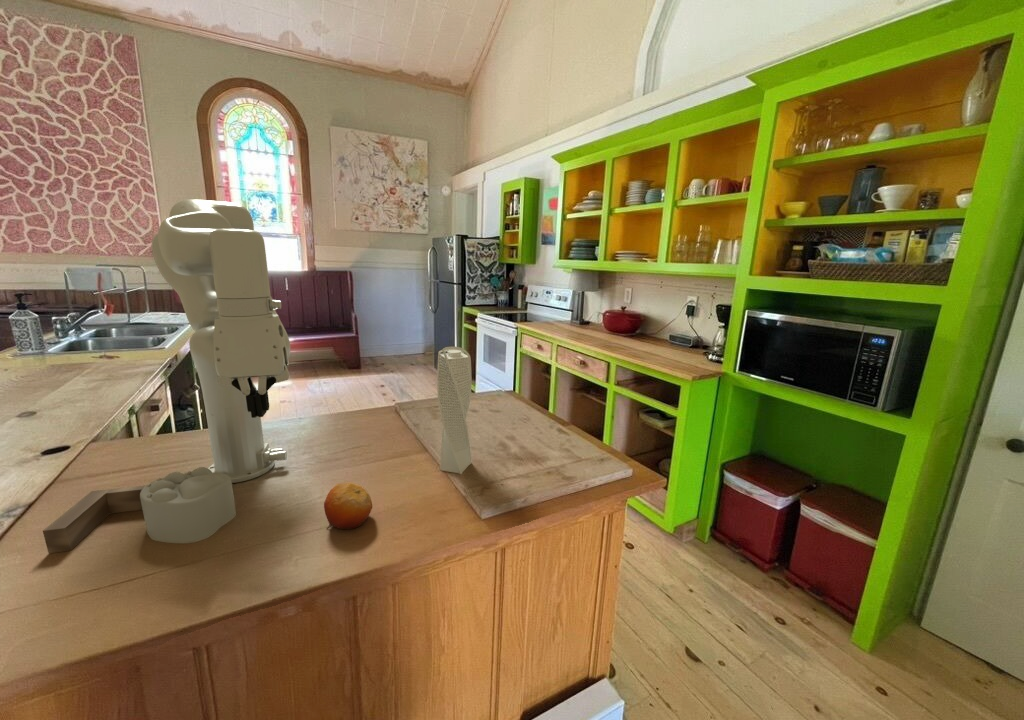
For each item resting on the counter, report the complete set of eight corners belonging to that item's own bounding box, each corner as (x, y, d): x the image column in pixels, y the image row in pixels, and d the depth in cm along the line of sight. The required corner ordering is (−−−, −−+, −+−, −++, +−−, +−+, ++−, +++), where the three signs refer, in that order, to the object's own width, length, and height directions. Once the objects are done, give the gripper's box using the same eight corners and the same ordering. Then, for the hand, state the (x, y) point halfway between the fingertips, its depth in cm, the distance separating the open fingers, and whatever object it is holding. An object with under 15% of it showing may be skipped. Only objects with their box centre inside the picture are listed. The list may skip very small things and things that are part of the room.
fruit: (322, 503, 80) (343, 468, 79) (362, 522, 82) (382, 488, 80) (306, 530, 72) (328, 492, 71) (350, 550, 74) (372, 513, 73)
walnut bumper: (184, 500, 83) (181, 481, 82) (153, 539, 72) (148, 517, 71) (96, 511, 79) (91, 491, 78) (48, 553, 68) (42, 530, 67)
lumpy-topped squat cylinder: (198, 545, 71) (190, 497, 69) (127, 538, 72) (116, 491, 70) (244, 509, 81) (238, 466, 79) (181, 504, 82) (173, 461, 80)
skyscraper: (463, 478, 93) (461, 349, 86) (432, 472, 95) (428, 346, 89) (478, 462, 100) (477, 341, 94) (448, 457, 102) (446, 339, 96)
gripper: (300, 305, 77) (310, 404, 81) (201, 306, 73) (217, 411, 77) (291, 310, 70) (302, 418, 74) (182, 312, 66) (200, 426, 70)
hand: (259, 414), depth 76 cm, fingers closed
